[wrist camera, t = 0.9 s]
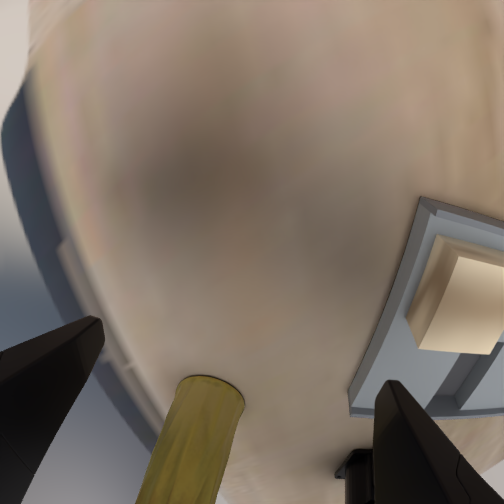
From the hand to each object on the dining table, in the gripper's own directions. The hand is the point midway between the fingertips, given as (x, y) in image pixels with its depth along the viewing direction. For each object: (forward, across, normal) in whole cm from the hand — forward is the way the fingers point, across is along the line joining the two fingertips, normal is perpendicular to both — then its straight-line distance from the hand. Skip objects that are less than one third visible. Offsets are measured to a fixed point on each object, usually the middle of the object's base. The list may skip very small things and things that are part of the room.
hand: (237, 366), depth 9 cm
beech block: (+9, -12, 0) cm, 15 cm away
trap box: (+11, -22, +4) cm, 25 cm away
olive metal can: (+11, +3, +16) cm, 20 cm away
